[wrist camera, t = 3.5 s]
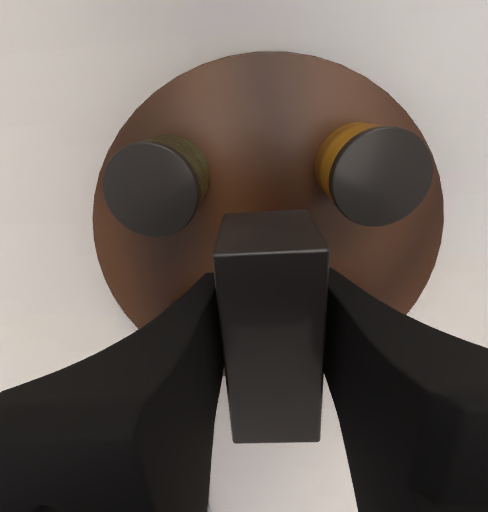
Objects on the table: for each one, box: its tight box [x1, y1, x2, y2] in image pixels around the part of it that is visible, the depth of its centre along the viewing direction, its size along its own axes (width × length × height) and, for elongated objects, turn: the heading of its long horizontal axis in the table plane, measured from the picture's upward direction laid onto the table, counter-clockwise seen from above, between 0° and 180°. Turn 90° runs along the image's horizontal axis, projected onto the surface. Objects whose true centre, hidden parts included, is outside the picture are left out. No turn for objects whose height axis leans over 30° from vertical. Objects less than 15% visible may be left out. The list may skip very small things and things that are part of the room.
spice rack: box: [93, 52, 444, 443], centre depth 11 cm, size 15×15×8 cm
